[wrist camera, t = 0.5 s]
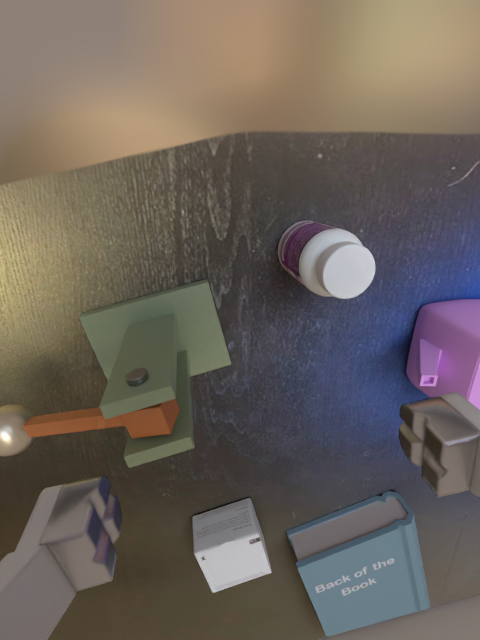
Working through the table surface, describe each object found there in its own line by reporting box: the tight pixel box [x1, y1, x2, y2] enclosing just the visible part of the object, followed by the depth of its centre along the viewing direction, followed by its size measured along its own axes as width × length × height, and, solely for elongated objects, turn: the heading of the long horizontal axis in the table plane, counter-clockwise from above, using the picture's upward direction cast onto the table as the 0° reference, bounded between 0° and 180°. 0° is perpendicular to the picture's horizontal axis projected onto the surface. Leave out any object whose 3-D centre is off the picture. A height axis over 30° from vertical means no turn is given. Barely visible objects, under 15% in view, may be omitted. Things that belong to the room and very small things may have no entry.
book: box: [286, 491, 430, 637], centre depth 50 cm, size 23×16×5 cm
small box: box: [192, 498, 272, 593], centre depth 43 cm, size 8×8×5 cm
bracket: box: [79, 279, 231, 468], centre depth 28 cm, size 12×9×14 cm
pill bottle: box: [278, 221, 375, 299], centre depth 29 cm, size 5×5×10 cm
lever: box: [0, 399, 180, 456], centre depth 24 cm, size 14×4×4 cm, turn 103°
